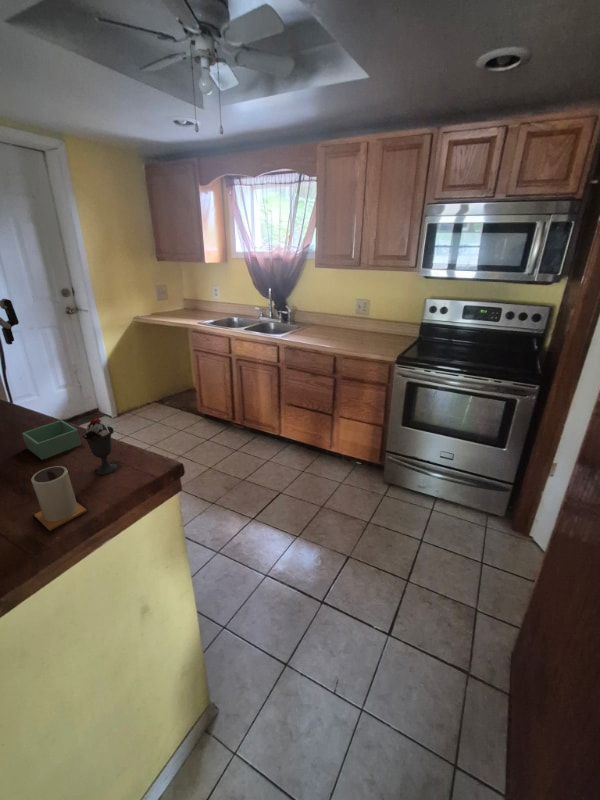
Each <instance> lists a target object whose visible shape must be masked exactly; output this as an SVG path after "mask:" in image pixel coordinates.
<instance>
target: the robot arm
mask: <svg viewBox="0 0 600 800" xmlns="http://www.w3.org/2000/svg"><path fill="white" fill-rule="evenodd" d="M0 309H2V310H4V312H5V314H6V317H7V320H5V319H3V318H2V317H1V316H0V327H2V328H0V329H1V332H2V336H3V339H4V342H5V344H6V345H13V342H15V337H14V334H13V331H12V330H13V329H12V327H14V326H17V325H19V323H20V321H19V320H18V316H17V314H16V310H15V308H14V305H13V302H12V301H11V300H10V299H7V298H2V299H0Z"/></svg>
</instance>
